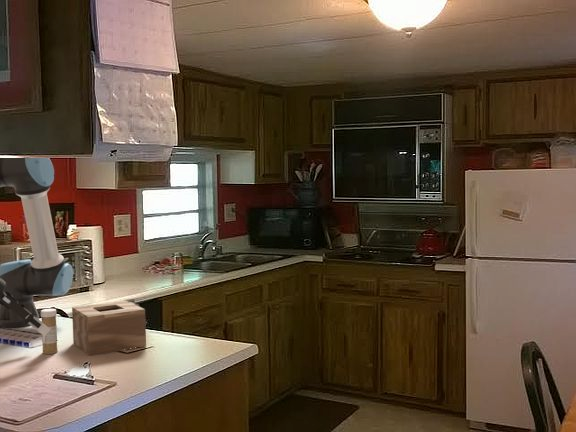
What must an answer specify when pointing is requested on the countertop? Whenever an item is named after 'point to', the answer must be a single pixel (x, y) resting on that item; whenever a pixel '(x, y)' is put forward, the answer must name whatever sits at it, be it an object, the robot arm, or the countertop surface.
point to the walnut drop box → (108, 327)
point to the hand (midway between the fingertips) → (42, 328)
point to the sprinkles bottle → (51, 336)
